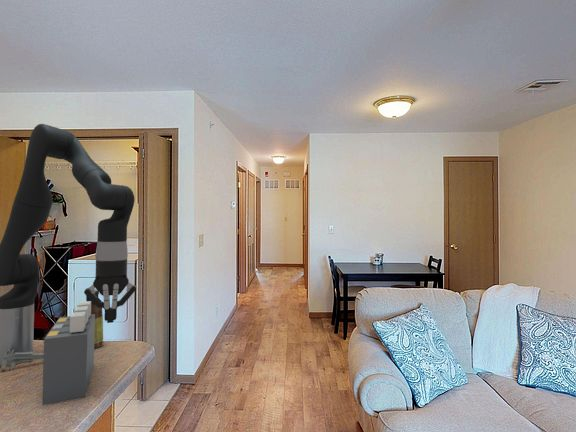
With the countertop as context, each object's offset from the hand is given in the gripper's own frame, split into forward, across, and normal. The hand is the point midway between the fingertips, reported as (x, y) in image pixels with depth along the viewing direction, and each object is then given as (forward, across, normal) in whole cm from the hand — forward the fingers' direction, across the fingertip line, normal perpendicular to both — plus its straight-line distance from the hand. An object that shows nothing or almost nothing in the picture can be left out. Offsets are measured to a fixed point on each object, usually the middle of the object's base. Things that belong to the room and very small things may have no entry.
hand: (110, 321), depth 89 cm
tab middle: (+1, +7, -6) cm, 10 cm away
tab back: (+1, +7, -12) cm, 14 cm away
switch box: (+18, +9, -6) cm, 21 cm away
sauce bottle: (+18, +7, -33) cm, 38 cm away
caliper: (+18, +19, -24) cm, 35 cm away
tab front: (+1, +7, 0) cm, 7 cm away
